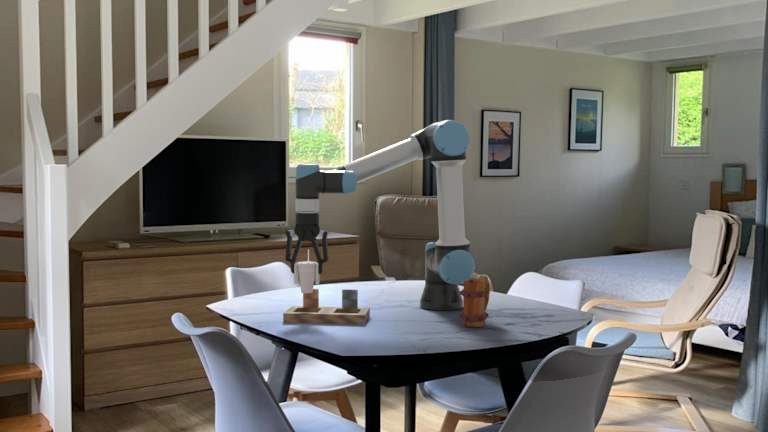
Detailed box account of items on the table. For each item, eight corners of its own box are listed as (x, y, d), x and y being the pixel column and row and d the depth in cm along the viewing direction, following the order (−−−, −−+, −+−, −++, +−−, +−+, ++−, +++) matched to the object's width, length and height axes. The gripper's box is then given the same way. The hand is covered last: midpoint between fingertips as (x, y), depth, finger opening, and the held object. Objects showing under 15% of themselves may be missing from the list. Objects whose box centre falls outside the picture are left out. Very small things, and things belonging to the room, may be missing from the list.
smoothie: (313, 294, 253) (313, 250, 252) (294, 293, 254) (294, 249, 253) (319, 291, 259) (319, 248, 258) (300, 290, 260) (300, 247, 260)
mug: (479, 330, 241) (479, 281, 240) (454, 327, 245) (455, 279, 244) (498, 322, 253) (499, 275, 253) (475, 319, 258) (475, 273, 257)
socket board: (369, 316, 262) (369, 289, 261) (364, 324, 249) (364, 296, 248) (292, 314, 264) (292, 288, 264) (283, 322, 252) (283, 294, 251)
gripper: (338, 211, 258) (338, 282, 259) (280, 210, 260) (280, 281, 261) (335, 213, 250) (334, 286, 252) (275, 212, 252) (274, 284, 254)
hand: (306, 283), depth 257 cm, fingers closed on smoothie, 6 cm apart
